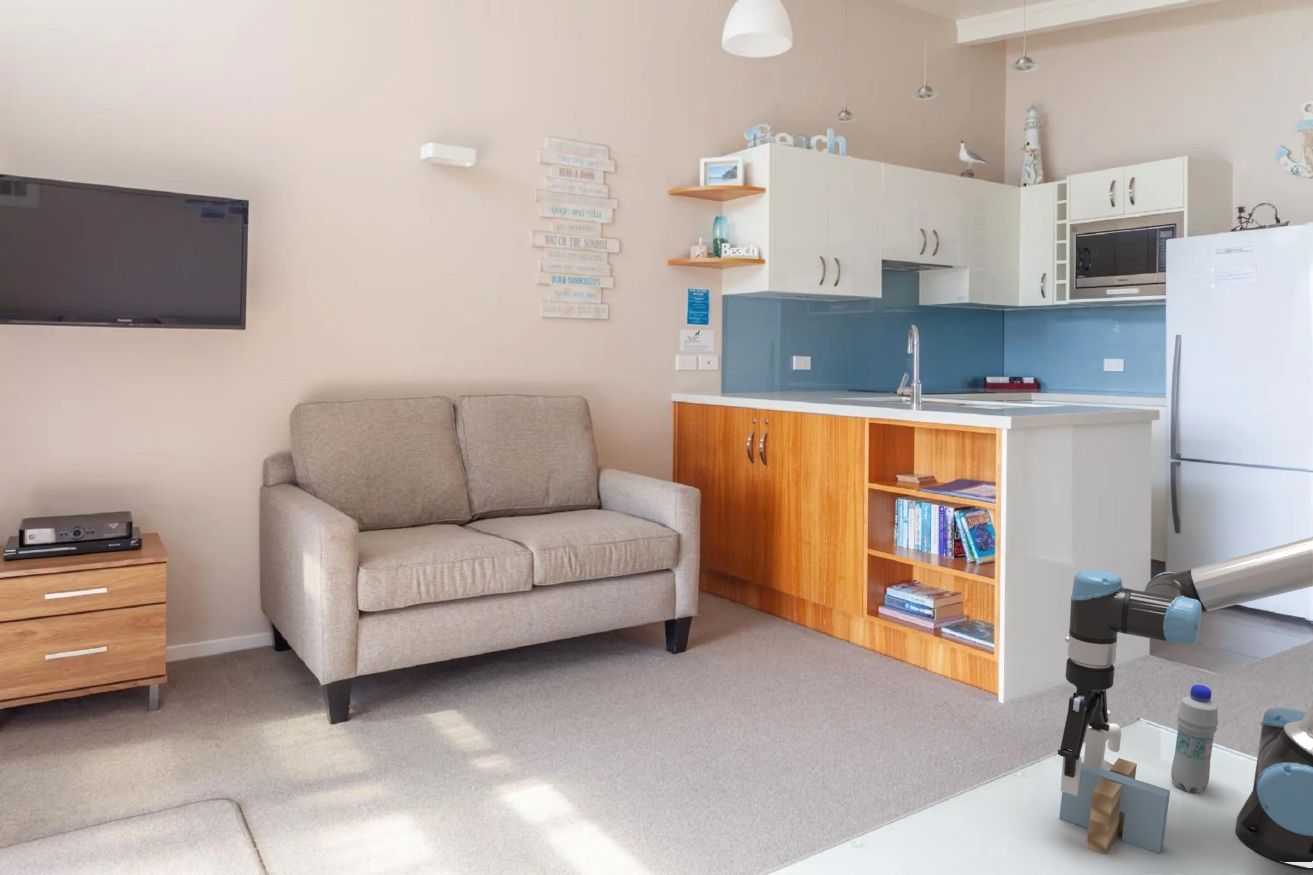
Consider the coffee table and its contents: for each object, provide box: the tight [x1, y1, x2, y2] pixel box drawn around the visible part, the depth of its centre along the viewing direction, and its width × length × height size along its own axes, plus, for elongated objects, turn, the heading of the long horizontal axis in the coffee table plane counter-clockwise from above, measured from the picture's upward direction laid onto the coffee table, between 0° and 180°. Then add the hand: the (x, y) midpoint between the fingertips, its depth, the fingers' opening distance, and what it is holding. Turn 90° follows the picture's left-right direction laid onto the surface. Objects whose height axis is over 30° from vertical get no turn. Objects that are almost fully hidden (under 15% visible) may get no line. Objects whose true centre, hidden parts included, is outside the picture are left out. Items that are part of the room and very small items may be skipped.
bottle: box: [1170, 684, 1219, 793], centre depth 183 cm, size 7×7×20 cm
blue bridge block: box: [1058, 762, 1171, 854], centre depth 167 cm, size 16×3×10 cm, turn 51°
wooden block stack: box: [1086, 757, 1138, 855], centre depth 167 cm, size 3×16×10 cm, turn 141°
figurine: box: [1080, 708, 1122, 771], centre depth 183 cm, size 7×9×15 cm
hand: (1081, 778), depth 170 cm, fingers open, 13 cm apart
